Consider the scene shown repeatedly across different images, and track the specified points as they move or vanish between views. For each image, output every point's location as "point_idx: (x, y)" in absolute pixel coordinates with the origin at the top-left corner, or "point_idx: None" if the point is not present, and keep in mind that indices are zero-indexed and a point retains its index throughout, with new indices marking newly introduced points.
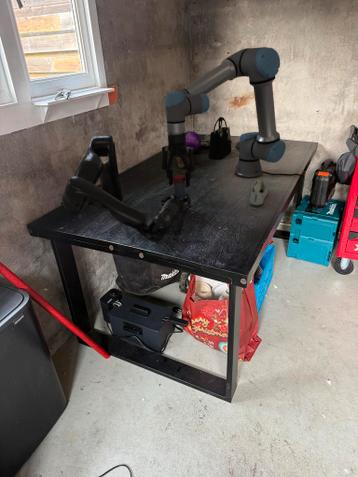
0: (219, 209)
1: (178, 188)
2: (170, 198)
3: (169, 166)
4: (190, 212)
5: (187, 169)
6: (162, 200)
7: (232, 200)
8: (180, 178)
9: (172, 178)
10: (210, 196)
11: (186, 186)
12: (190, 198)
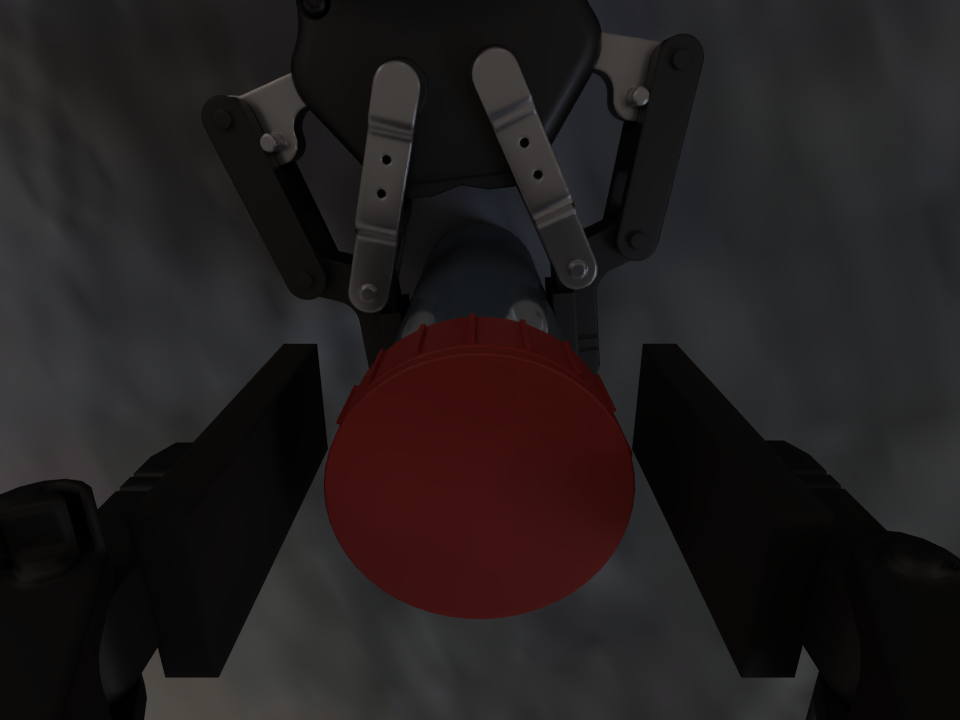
0: (102, 393)
1: (459, 296)
2: (594, 230)
3: (890, 680)
4: (348, 243)
5: (15, 622)
6: (676, 48)
7: None
8: (378, 384)
9: (663, 494)
10: (322, 622)
11: (300, 348)
12: (272, 255)
